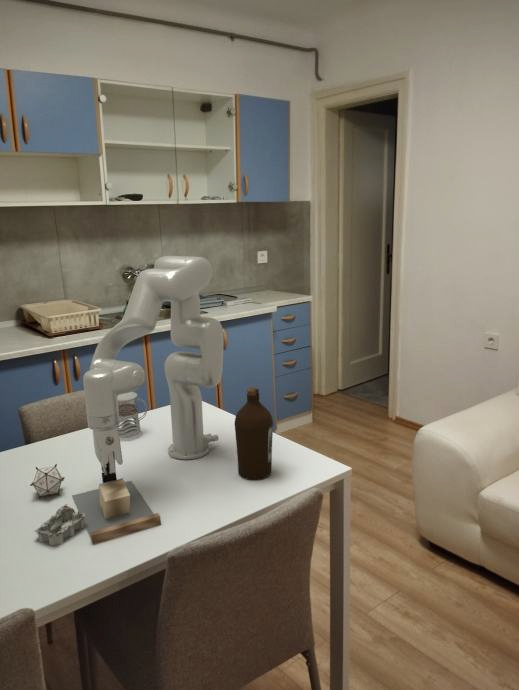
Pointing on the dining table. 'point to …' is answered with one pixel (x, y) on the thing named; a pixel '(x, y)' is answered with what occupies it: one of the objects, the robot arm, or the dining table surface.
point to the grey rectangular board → (95, 516)
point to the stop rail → (125, 528)
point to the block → (114, 498)
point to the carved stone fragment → (53, 526)
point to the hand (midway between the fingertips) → (110, 486)
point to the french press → (129, 429)
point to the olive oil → (254, 438)
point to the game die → (47, 481)
